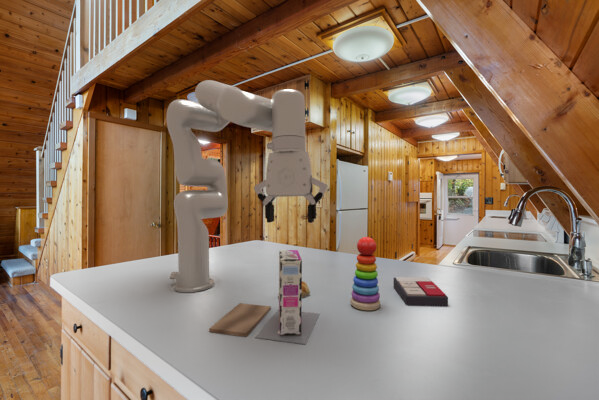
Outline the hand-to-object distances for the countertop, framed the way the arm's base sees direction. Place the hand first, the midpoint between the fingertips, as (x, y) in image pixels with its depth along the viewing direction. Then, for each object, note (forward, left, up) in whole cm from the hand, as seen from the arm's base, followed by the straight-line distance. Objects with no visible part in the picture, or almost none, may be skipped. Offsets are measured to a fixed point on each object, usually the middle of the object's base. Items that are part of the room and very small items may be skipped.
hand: (290, 222), depth 67 cm
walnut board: (-12, 0, -24) cm, 27 cm away
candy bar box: (0, 0, -24) cm, 24 cm away
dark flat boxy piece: (+31, +27, -25) cm, 48 cm away
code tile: (0, 0, -24) cm, 24 cm away
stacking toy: (+16, +16, -24) cm, 33 cm away
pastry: (-4, +19, -25) cm, 31 cm away
